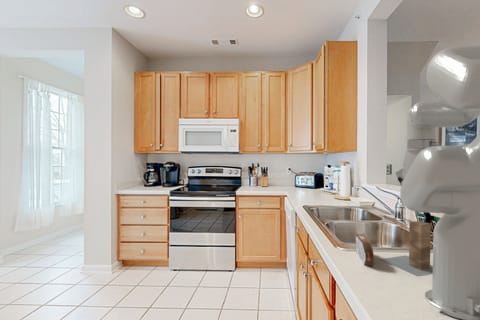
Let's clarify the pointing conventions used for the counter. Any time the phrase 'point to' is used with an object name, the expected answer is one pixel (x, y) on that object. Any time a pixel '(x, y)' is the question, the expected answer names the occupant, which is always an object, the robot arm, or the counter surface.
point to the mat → (407, 265)
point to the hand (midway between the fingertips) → (420, 200)
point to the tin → (364, 249)
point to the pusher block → (419, 245)
